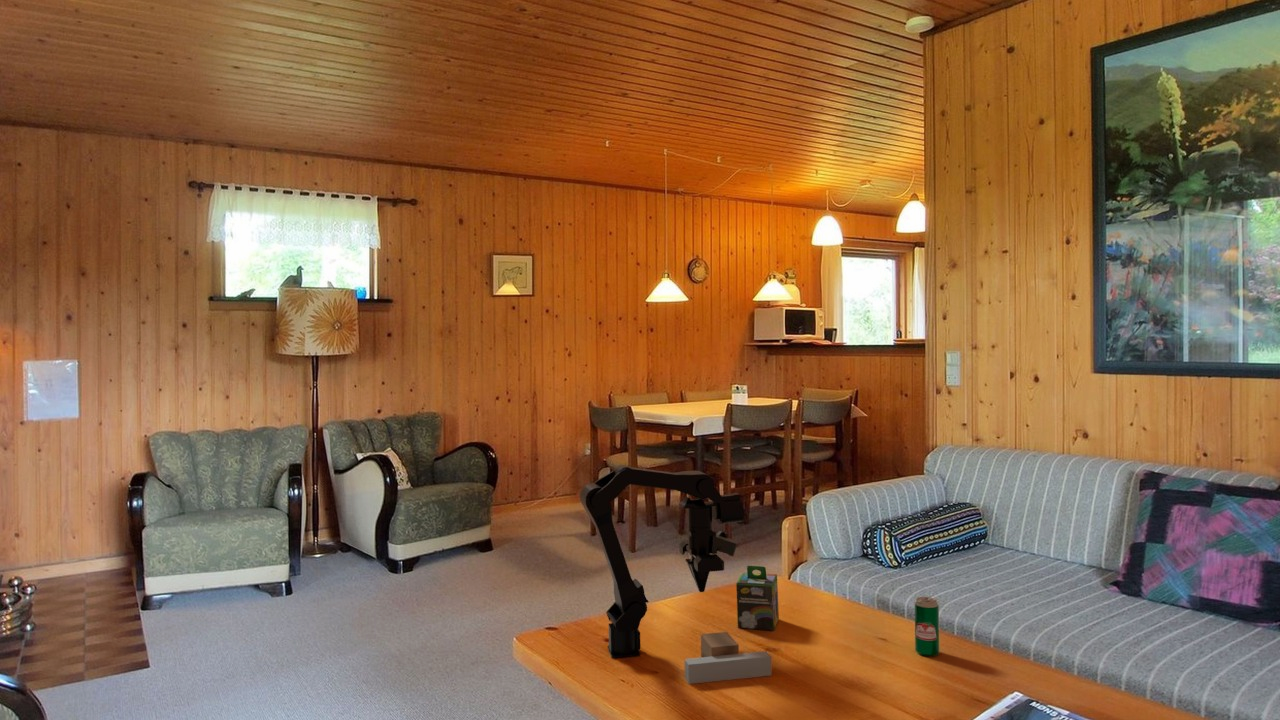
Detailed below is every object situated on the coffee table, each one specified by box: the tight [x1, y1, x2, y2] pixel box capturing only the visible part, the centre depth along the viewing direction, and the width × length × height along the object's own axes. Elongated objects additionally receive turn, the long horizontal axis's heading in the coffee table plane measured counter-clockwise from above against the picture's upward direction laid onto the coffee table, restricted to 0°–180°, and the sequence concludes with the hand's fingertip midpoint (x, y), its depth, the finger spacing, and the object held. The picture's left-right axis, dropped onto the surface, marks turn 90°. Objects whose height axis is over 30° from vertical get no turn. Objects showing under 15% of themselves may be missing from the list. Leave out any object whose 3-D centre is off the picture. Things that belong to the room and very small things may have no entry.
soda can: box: [914, 596, 940, 657], centre depth 174 cm, size 5×5×12 cm
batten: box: [684, 650, 772, 685], centre depth 164 cm, size 18×3×4 cm, turn 101°
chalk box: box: [735, 565, 780, 632], centre depth 195 cm, size 9×9×15 cm
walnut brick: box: [700, 631, 740, 658], centre depth 169 cm, size 6×8×6 cm
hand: (701, 591), depth 183 cm, fingers closed
